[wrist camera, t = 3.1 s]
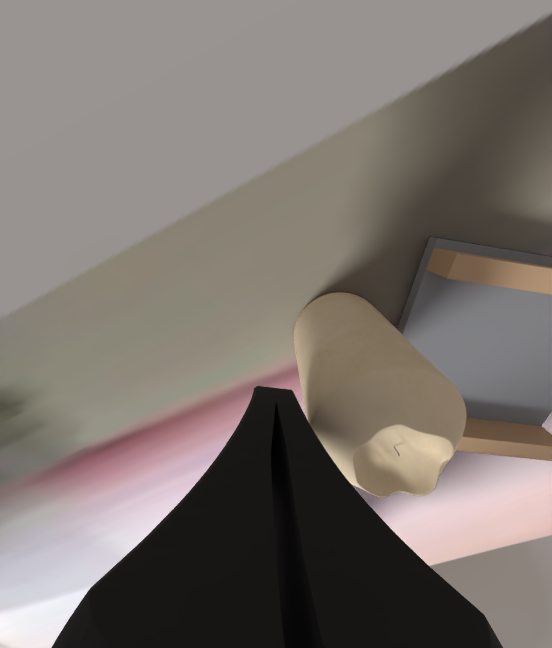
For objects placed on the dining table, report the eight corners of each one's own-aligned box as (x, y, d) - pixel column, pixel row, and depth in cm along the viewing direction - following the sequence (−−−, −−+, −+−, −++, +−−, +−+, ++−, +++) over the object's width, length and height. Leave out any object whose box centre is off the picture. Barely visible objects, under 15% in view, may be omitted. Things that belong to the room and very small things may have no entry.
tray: (520, 435, 21) (554, 467, 19) (365, 417, 20) (378, 448, 18) (629, 269, 16) (696, 281, 14) (429, 236, 15) (461, 242, 13)
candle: (350, 272, 16) (455, 359, 7) (394, 339, 18) (524, 480, 9) (275, 324, 17) (279, 458, 8) (323, 382, 19) (371, 545, 10)
